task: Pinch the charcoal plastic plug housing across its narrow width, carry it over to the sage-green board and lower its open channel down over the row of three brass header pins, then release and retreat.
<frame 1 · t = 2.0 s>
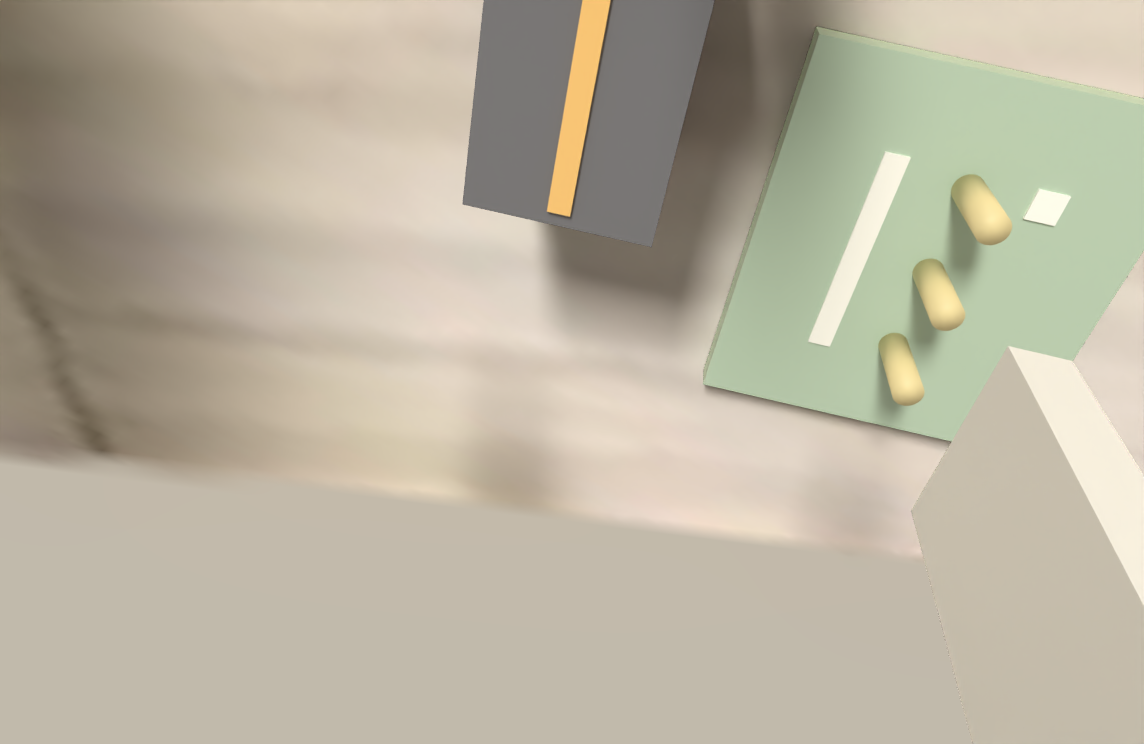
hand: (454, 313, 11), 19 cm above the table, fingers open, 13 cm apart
plug housing: (619, 0, 26), on the table
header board: (922, 258, 29), on the table
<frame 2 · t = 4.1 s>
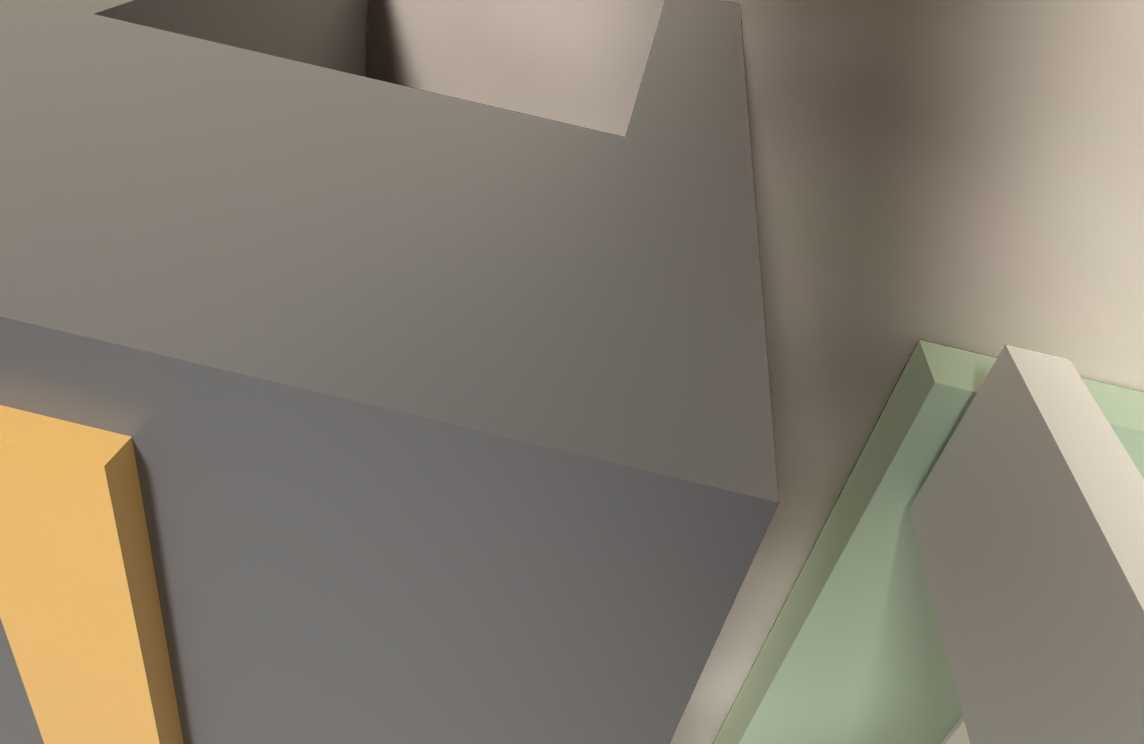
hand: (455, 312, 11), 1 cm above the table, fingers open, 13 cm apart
plug housing: (478, 267, 12), on the table
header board: (1098, 719, 15), on the table
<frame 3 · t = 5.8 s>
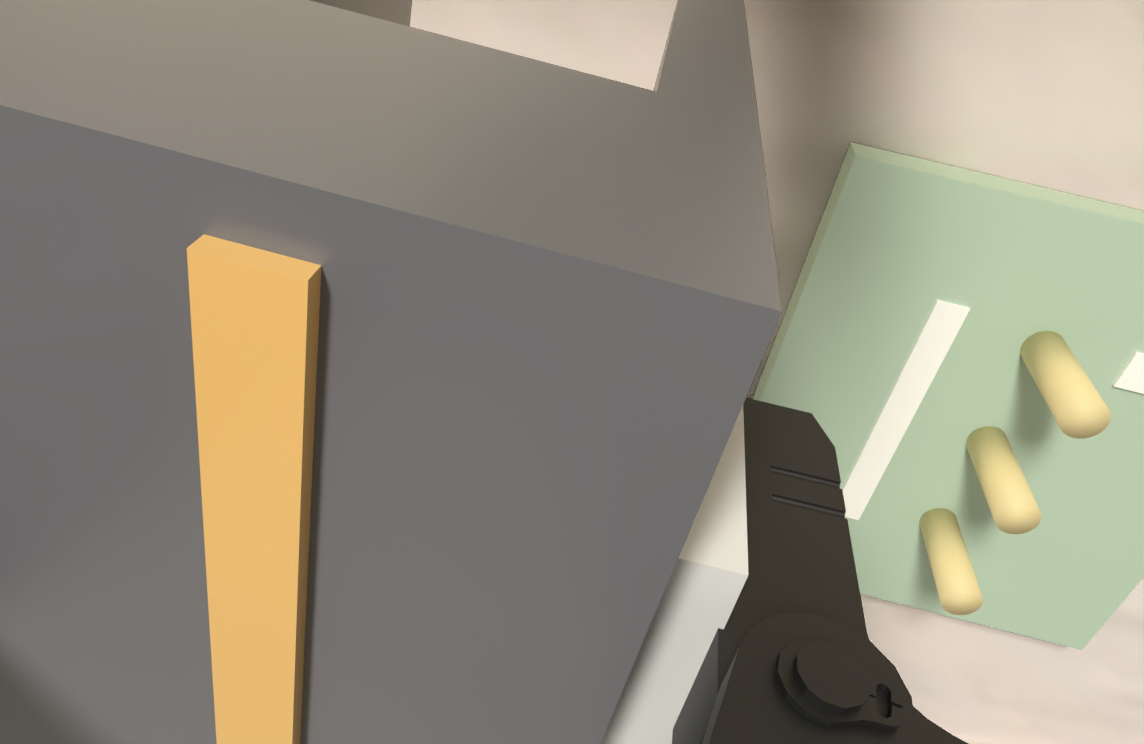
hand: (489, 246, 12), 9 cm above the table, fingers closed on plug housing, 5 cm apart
plug housing: (500, 232, 13), point 9 cm above the table, touching gripper
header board: (977, 419, 23), on the table
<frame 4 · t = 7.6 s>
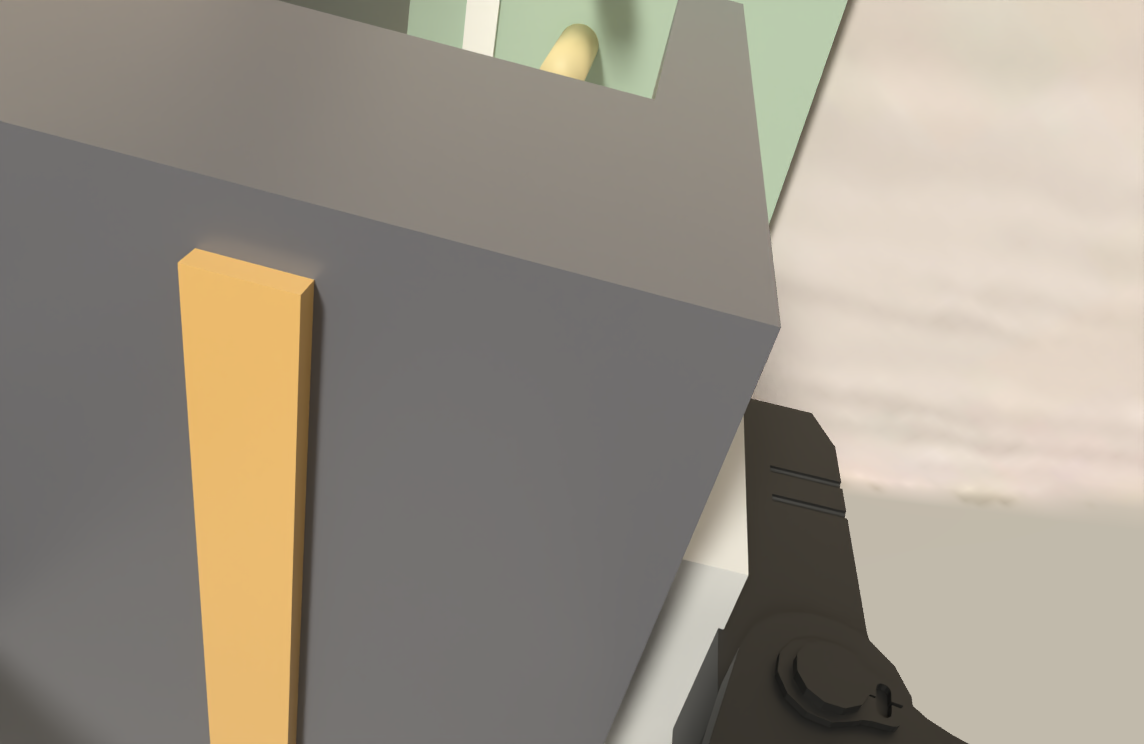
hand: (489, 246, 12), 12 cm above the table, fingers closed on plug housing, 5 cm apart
plug housing: (498, 237, 13), point 11 cm above the table, touching gripper
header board: (584, 35, 22), on the table
when the fingers open (2 cm above the table, at t = 9.7 s): plug housing stays where it is, resting on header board.
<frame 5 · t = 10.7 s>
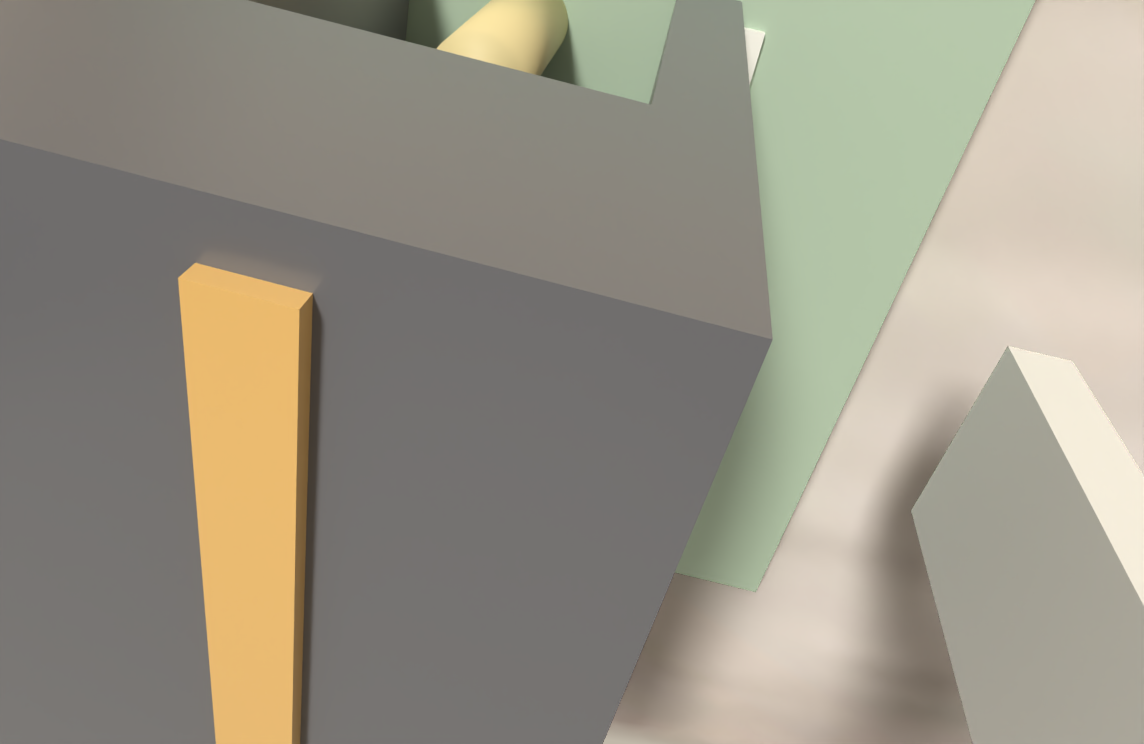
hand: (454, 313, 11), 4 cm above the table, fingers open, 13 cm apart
plug housing: (499, 235, 13), point 1 cm above the table, touching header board
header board: (514, 199, 14), on the table
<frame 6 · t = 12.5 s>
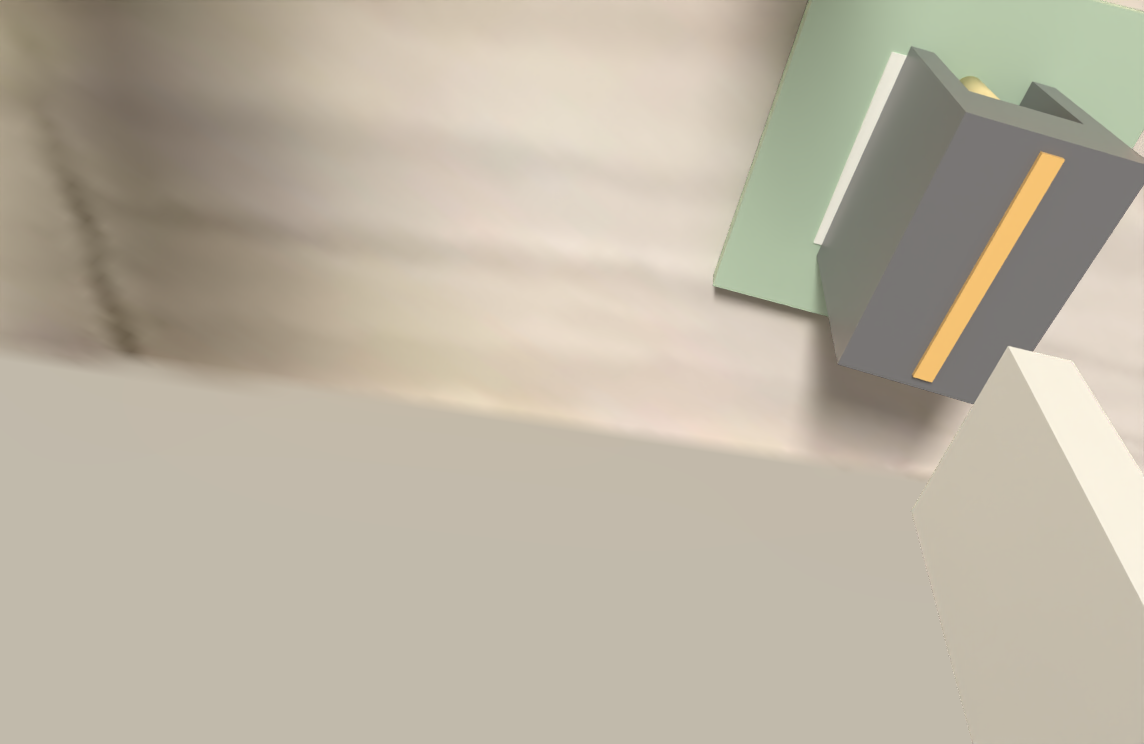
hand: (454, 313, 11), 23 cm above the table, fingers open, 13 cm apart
plug housing: (927, 178, 30), point 1 cm above the table, touching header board
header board: (923, 164, 31), on the table
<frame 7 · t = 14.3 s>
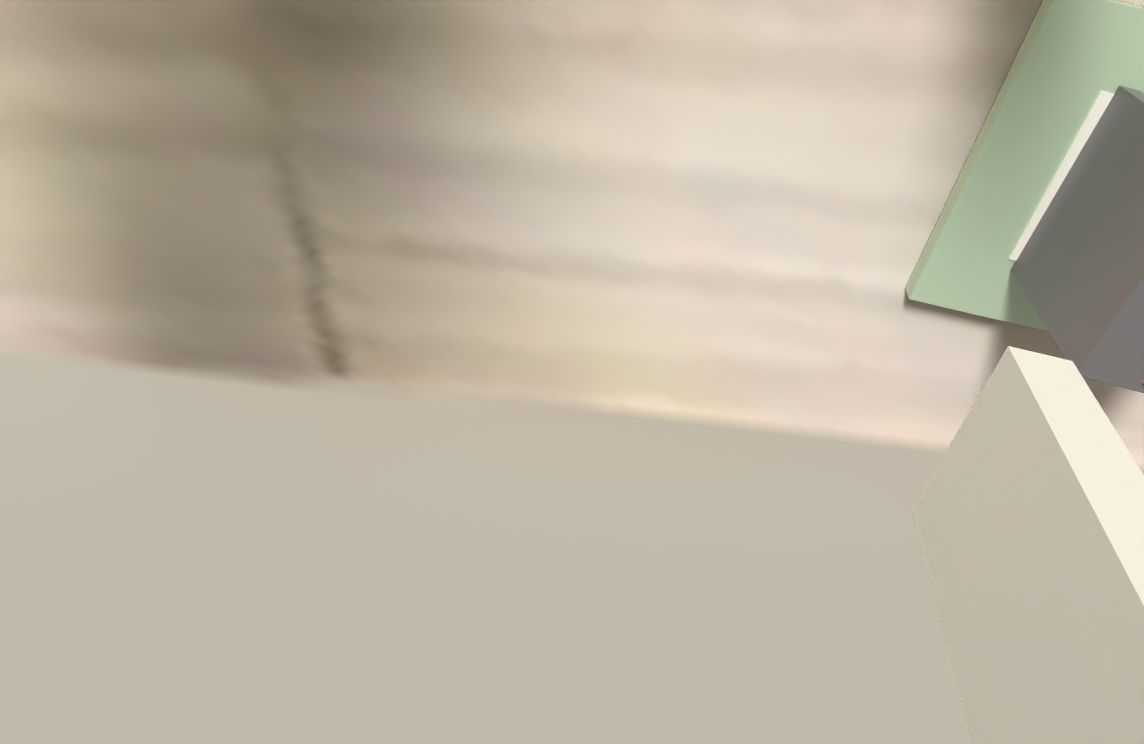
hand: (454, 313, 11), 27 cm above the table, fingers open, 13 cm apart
plug housing: (1121, 199, 33), point 1 cm above the table, touching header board
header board: (1113, 186, 34), on the table
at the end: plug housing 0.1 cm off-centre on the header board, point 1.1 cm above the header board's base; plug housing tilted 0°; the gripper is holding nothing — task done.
